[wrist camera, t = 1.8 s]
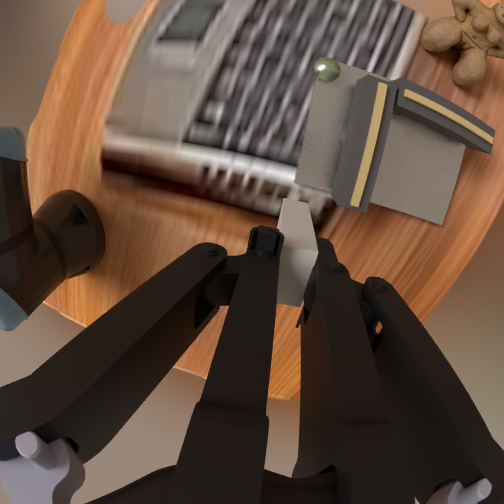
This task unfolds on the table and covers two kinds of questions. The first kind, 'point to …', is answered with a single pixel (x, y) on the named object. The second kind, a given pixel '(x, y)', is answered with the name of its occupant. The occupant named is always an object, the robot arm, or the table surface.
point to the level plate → (394, 156)
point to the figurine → (468, 38)
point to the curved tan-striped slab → (442, 115)
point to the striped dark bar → (364, 142)
